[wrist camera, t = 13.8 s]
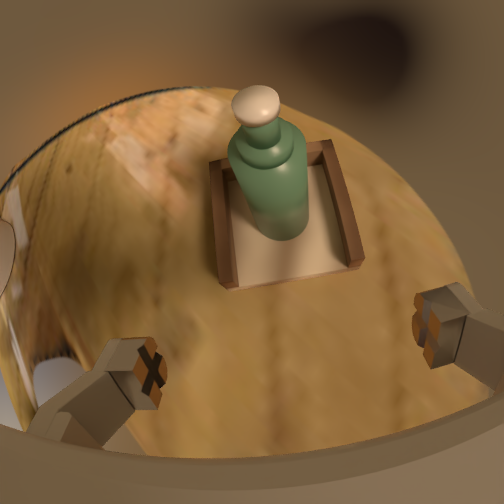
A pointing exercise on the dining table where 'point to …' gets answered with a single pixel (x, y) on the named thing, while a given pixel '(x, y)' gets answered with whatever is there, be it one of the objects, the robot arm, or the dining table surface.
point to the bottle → (270, 164)
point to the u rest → (291, 251)
